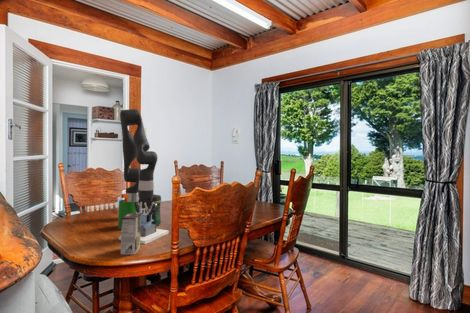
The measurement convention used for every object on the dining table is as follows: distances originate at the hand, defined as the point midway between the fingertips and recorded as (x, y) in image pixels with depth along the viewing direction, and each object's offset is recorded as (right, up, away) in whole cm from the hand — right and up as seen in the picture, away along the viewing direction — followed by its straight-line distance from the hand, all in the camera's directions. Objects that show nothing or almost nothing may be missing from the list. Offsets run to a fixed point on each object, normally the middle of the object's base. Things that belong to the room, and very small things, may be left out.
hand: (145, 221), depth 144 cm
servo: (0, -5, 0) cm, 5 cm away
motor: (-16, -7, +15) cm, 23 cm away
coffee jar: (-3, -8, +24) cm, 25 cm away
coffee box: (0, -8, -21) cm, 23 cm away
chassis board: (0, -8, 0) cm, 8 cm away
